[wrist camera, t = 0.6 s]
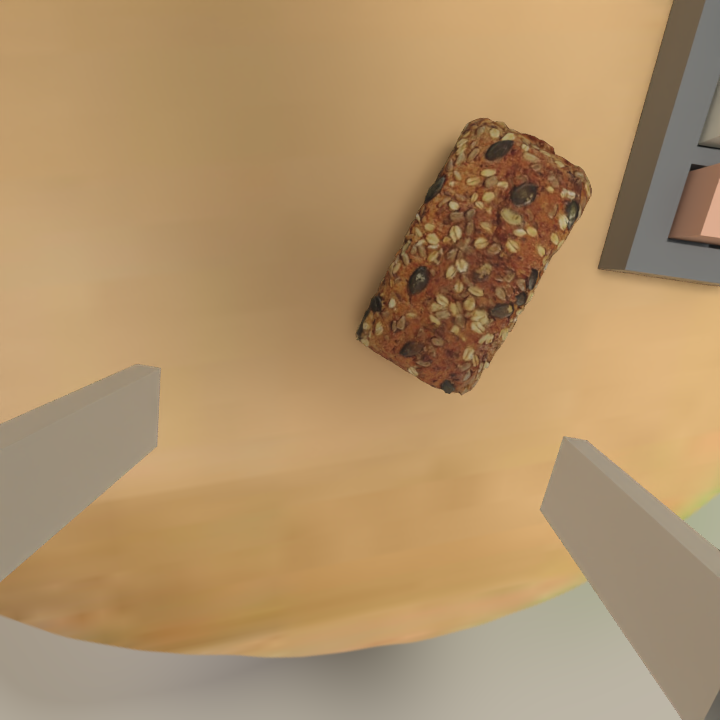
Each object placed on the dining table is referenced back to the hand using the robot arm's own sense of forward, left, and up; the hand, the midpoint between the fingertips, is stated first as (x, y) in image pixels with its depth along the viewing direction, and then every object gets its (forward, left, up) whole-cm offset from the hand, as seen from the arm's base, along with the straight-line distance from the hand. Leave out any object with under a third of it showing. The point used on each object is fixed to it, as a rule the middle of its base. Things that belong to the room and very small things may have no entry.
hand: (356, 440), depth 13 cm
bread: (-6, +7, -26) cm, 28 cm away
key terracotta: (-13, +26, -23) cm, 37 cm away
